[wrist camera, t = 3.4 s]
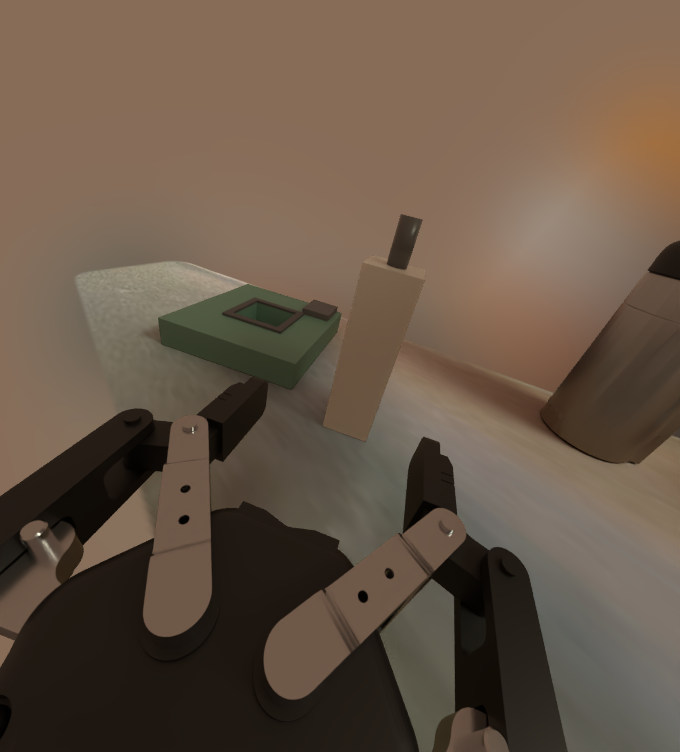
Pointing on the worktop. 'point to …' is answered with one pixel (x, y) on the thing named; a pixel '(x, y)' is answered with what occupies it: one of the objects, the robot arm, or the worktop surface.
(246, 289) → the green square socket base
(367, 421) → the plug
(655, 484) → the worktop surface
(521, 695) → the robot arm
